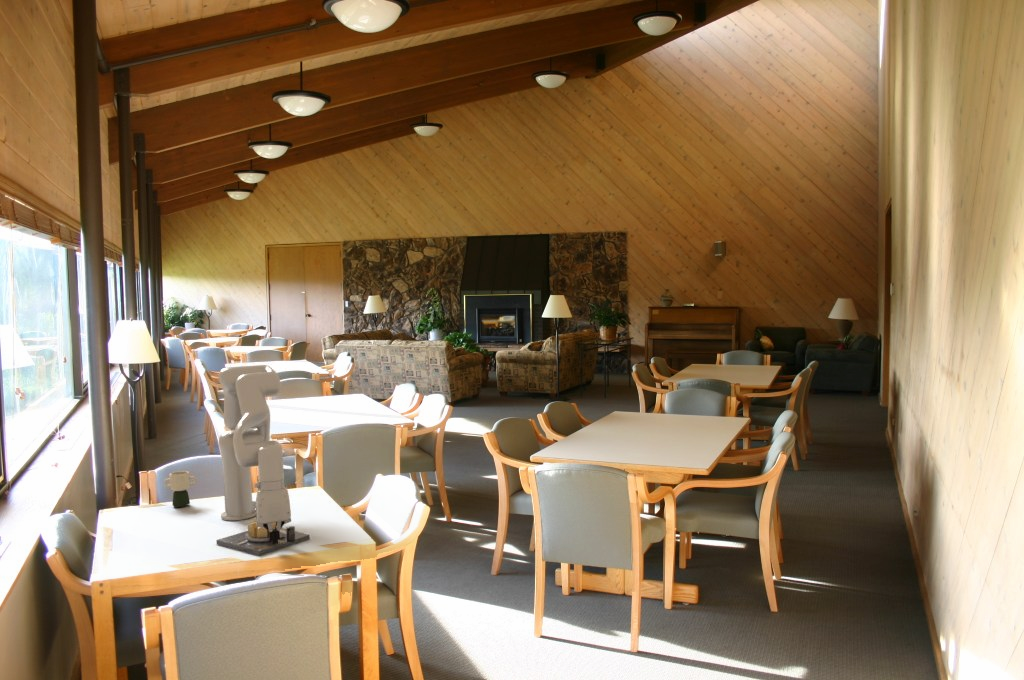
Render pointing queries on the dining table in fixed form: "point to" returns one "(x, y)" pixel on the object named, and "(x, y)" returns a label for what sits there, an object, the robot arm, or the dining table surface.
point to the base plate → (258, 543)
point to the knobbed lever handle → (263, 532)
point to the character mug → (180, 487)
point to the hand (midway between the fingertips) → (274, 542)
